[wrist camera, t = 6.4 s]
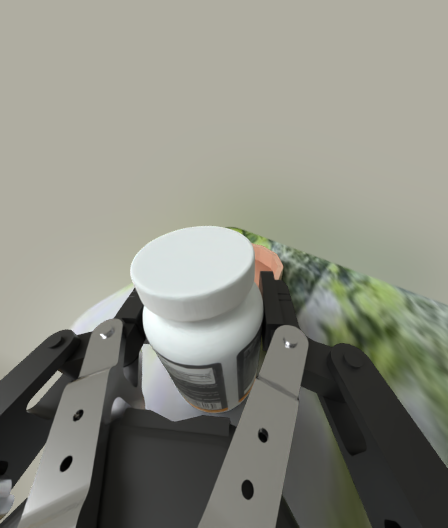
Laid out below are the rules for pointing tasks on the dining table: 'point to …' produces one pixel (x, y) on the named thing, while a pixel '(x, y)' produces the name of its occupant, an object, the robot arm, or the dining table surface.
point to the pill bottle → (202, 312)
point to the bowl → (266, 262)
